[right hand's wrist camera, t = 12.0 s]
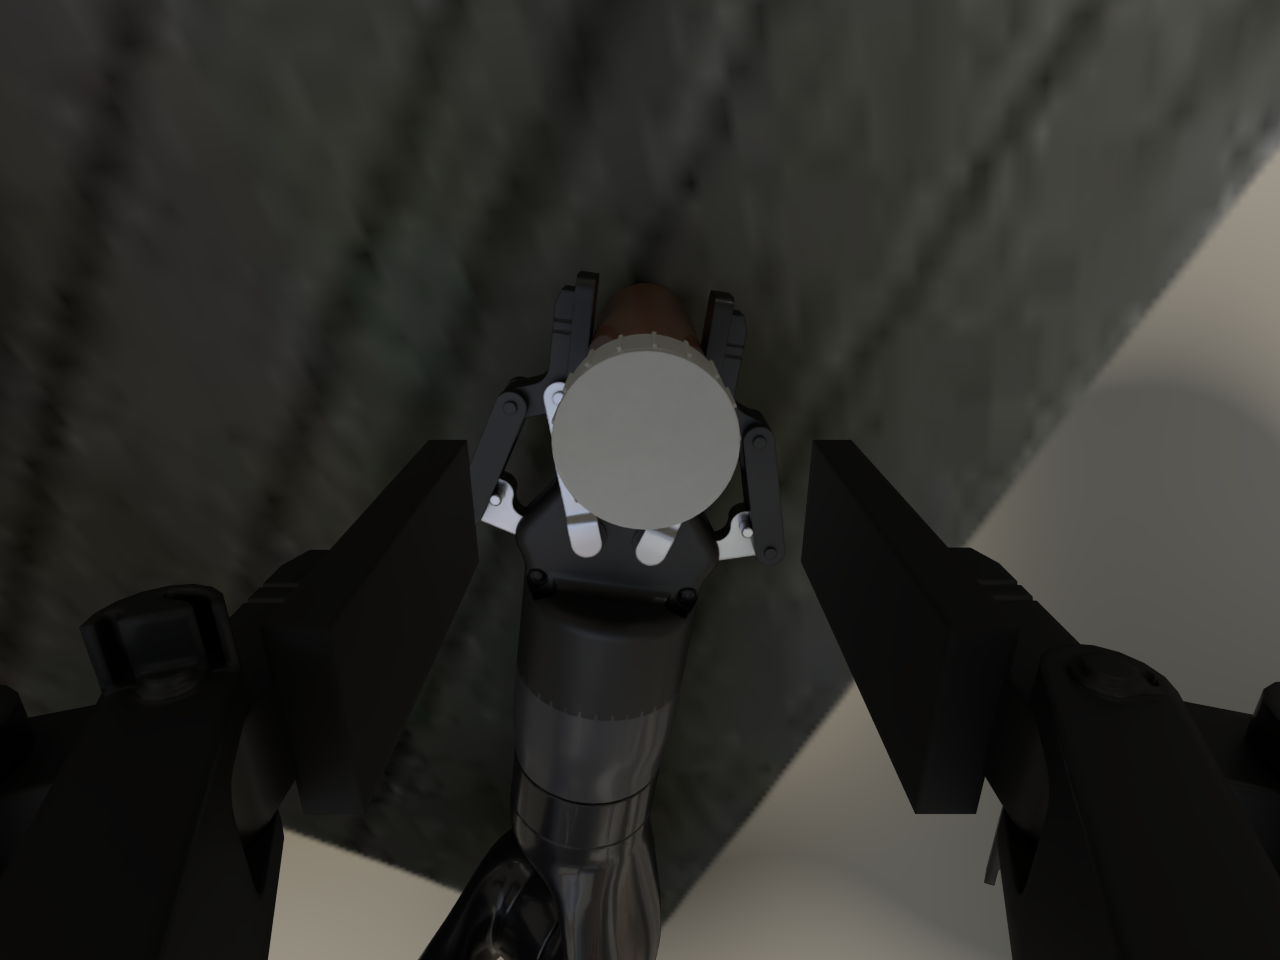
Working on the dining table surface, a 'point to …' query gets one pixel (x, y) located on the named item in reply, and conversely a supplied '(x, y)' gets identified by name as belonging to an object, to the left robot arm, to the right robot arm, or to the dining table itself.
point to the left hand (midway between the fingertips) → (654, 286)
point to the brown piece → (644, 316)
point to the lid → (645, 432)
